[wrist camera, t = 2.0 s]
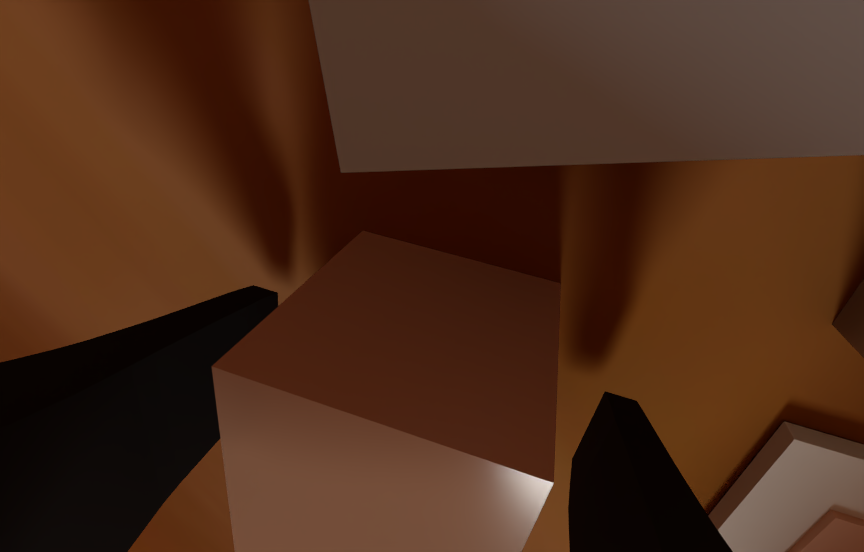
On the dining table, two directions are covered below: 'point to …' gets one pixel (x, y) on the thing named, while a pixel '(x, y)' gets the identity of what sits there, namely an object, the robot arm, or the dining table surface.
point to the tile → (797, 496)
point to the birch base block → (853, 320)
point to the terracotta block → (393, 407)
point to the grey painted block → (589, 81)
